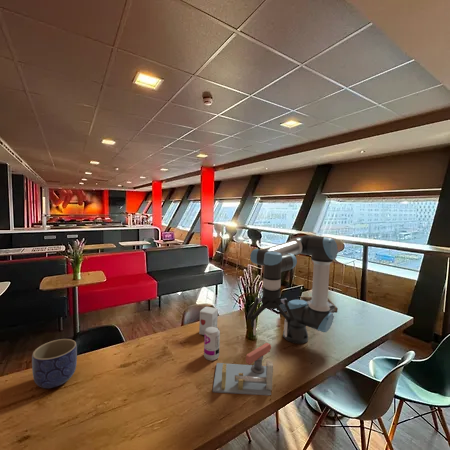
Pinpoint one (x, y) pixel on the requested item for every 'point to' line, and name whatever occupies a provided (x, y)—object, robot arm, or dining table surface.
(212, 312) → the supplement box
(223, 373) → the eye bracket
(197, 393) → the dining table surface
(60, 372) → the planter
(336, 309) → the towel corral
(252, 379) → the sliding bolt
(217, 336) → the supplement can
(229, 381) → the board
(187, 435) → the dining table surface
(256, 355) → the handle
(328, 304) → the towel
